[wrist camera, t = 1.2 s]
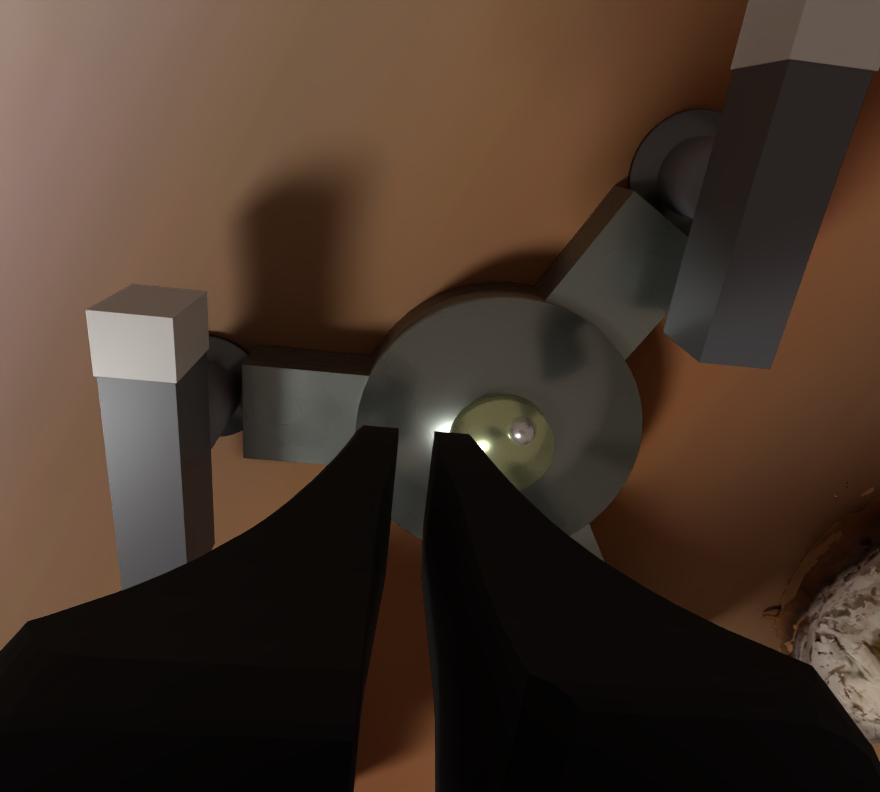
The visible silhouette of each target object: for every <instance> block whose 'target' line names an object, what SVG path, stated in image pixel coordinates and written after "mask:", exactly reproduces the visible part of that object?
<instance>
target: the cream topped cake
mask: <svg viewBox="0 0 880 792" xmlns="http://www.w3.org/2000/svg"><path fill="white" fill-rule="evenodd" d="M847 484H848V483H847ZM847 487H848V486H846V488H847ZM874 488H875V487H872V488H870V489H868V490H867V491H866V492H863V493H862V494H861V497H863V496H865V495H869V494H870V493H872V492H873V491H874ZM834 497H835V498H838V496H836V495H835V494H834ZM833 502H835V501H833ZM780 603H781V610H780V612H779V614H777V615H775V616H773V615H770V614H766V615H765V614H764V615H763V616H762V617H763V618H765V619H768V618H770V619H773V620H775V623H774V625H773V626H774V628H775V629H777V635H776V636H777V638H778V640H779V641H780V643H781V647H778V649H779V652H781V653H783V654H786V655H788V656H791V657H793V658H795V659H798V660H800V661H802V662H805V663H807V664H810V665H812V666H813V667H814V668H815V670H816V671H817V672H818V674H819V675H820V676H821V677H822V679H823V680H824V681H825V683H826V684H827V685H828V687H829V688H830V690H831V691H832V692H833V694H834V695H835V696H836V698H837V699H838V700H839V702H840V703H841V704H842V706H843V707H844V709H845V710H846V711H847V713H848V714H849V715H850V717H851V718H852V719H853V721H854V722H855V723H856V725H857V726H858V728H859V729H860V730H861V732H862V733H863V734H864V736H865V737H866V738H867V740H868V741H869V742H870V744H871V743H880V495H878V496H876V497H875V498H873V499H872V500H871V501H870V502H869V503H868V504H867V505H866V506H865V508H864V509H862V510H861V511H859V512H854V513H851V514H849V515H847V516H846V517H845V518H843V519H842V520H839V521H837V522H836V523H834V524H833V525H832V526H831V527H830V528H829V529H828V530H827V531H826V532H825V533H824V534H823V535H822V536H821V537H820V538H819V539H818V540H817V541H816V542H815V543H814V544H813V546H812V547H811V548H810V549H809V550H808V551H807V553H806V556H805V557H804V559H803V560H802V562H801V564H800V565H799V566H798V568H797V570H796V572H795V573H794V574H793V576H792V577H791V579H790V580H789V582H788V587H787V589H786V590H785V591H784V593H783V594H782V595H781V597H780ZM757 610H758V609H757ZM757 612H758V611H757Z"/></svg>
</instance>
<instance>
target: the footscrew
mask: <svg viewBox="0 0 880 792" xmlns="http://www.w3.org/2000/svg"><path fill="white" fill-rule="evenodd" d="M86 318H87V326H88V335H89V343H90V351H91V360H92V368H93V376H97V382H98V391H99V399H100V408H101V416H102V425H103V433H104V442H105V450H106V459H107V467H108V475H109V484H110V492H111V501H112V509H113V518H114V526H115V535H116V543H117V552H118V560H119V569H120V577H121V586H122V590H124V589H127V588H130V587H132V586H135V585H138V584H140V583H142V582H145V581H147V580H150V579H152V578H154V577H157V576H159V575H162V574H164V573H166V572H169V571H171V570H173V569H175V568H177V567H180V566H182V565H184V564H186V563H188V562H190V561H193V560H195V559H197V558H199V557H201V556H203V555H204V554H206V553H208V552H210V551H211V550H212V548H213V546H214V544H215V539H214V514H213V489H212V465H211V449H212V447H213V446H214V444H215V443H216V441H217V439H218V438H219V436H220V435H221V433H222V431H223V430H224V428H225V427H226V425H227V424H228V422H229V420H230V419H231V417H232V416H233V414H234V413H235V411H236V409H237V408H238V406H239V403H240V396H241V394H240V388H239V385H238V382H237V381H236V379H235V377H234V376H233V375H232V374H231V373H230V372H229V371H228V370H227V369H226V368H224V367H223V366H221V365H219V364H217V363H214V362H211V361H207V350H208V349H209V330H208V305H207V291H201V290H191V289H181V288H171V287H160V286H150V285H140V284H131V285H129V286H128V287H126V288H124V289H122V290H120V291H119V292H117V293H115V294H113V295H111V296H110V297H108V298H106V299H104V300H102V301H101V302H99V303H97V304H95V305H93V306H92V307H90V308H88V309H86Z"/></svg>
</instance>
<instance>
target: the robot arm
mask: <svg viewBox="0 0 880 792" xmlns="http://www.w3.org/2000/svg"><path fill="white" fill-rule="evenodd" d="M398 436H399V428H392V427H380V426H368V425H363V426H362V427H360V428H359V429H358V430H357V431H356V432H355V434H354V435H353V436H352V438H351V439H350V440H349V442H348V443H347V444H346V445H345V447H344V448H343V449H342V450H341V451H340V452H339V453H338V455H337V456H336V457H335V458H334V459H333V460H332V461H331V462H330V463H329V464H328V465H327V466H326V467H325V468H324V469H323V470H322V471H321V472H320V473H319V474H318V475H317V476H316V477H315V478H314V479H313V480H312V481H311V482H310V483H309V484H308V485H306V486H305V487H304V488H303V489H302V490H301V491H300V492H299V493H297V494H296V495H295V496H294V497H293V498H292V499H291V500H289V501H288V502H287V503H286V504H284V505H283V506H282V507H281V508H279V509H278V510H277V511H275V512H274V513H273V514H271V515H270V516H269V517H267V518H266V519H265V520H263V521H262V522H260V523H259V524H257V525H256V526H254V527H253V528H251V529H249V530H248V531H246V532H244V533H243V534H241V535H239V536H237V537H235V538H233V539H232V540H230V541H228V542H226V543H224V544H223V545H221V546H219V547H217V548H215V549H214V550H212V551H210V552H208V553H206V554H204V555H203V556H201V557H199V558H197V559H195V560H193V561H190V562H188V563H186V564H184V565H182V566H180V567H177V568H175V569H173V570H171V571H169V572H166V573H164V574H162V575H159V576H157V577H154V578H152V579H150V580H147V581H145V582H142V583H140V584H138V585H135V586H132V587H130V588H127V589H124V590H122V591H119V592H117V593H114V594H111V595H108V596H105V597H102V598H99V599H96V600H93V601H90V602H87V603H84V604H81V605H78V606H75V607H72V608H69V609H66V610H63V611H60V612H57V613H54V614H51V615H48V616H44V617H41V618H38V619H34V620H31V621H28V622H27V623H26V624H25V625H24V626H23V627H22V628H21V629H20V630H19V632H18V633H17V634H16V635H15V636H14V637H13V638H12V639H11V640H10V641H9V642H8V643H7V645H6V646H5V647H4V648H3V649H2V650H1V651H0V792H353V791H354V780H355V770H356V759H357V748H358V737H359V726H360V716H361V709H362V702H363V695H364V688H365V683H366V678H367V672H368V667H369V662H370V656H371V651H372V646H373V640H374V635H375V630H376V624H377V619H378V613H379V608H380V603H381V597H382V592H383V586H384V581H385V575H386V565H387V555H388V545H389V534H390V524H391V513H392V503H393V492H394V482H395V472H396V461H397V451H398ZM422 587H423V597H424V607H425V617H426V627H427V637H428V646H429V656H430V665H431V675H432V685H433V695H434V712H435V792H880V762H879V759H878V757H877V755H876V753H875V751H874V749H873V747H872V745H871V744H870V742H869V741H868V740H867V738H866V737H865V736H864V734H863V733H862V732H861V730H860V729H859V728H858V726H857V725H856V723H855V722H854V721H853V719H852V718H851V717H850V715H849V714H848V713H847V711H846V710H845V709H844V707H843V706H842V704H841V703H840V702H839V700H838V699H837V698H836V696H835V695H834V694H833V692H832V691H831V690H830V688H829V687H828V685H827V684H826V683H825V681H824V680H823V679H822V677H821V676H820V675H819V674H818V672H817V671H816V670H815V668H814V667H813V666H812V665H810V664H807V663H805V662H802V661H800V660H798V659H795V658H793V657H791V656H788V655H786V654H783V653H781V652H779V651H776V650H774V649H771V648H769V647H767V646H764V645H762V644H760V643H757V642H755V641H752V640H750V639H748V638H745V637H743V636H740V635H738V634H736V633H733V632H731V631H729V630H726V629H724V628H722V627H720V626H718V625H716V624H714V623H712V622H710V621H708V620H706V619H704V618H702V617H700V616H698V615H696V614H694V613H692V612H690V611H688V610H686V609H684V608H682V607H680V606H678V605H676V604H674V603H672V602H670V601H669V600H667V599H665V598H663V597H661V596H660V595H658V594H656V593H654V592H652V591H651V590H649V589H647V588H645V587H644V586H642V585H640V584H639V583H637V582H636V581H634V580H632V579H631V578H629V577H628V576H626V575H624V574H623V573H621V572H620V571H618V570H616V569H615V568H613V567H611V566H610V565H609V564H607V563H606V562H604V561H603V560H601V559H600V558H598V557H597V556H595V555H594V554H592V553H591V552H590V551H589V550H587V549H586V548H585V547H583V546H582V545H581V544H579V543H578V542H577V541H575V540H574V539H573V538H571V537H570V536H569V535H567V534H566V533H565V532H564V531H562V530H561V529H560V528H559V527H558V526H556V525H555V524H554V523H553V522H552V521H550V520H549V519H548V518H547V517H546V516H545V515H544V514H543V513H542V512H541V511H540V510H538V509H537V508H536V507H535V506H534V505H533V504H532V503H531V502H530V501H529V500H528V499H527V498H526V497H525V496H524V495H523V494H522V493H521V492H520V491H519V490H518V489H517V488H516V487H515V486H514V485H513V484H512V483H511V482H510V481H509V480H508V479H507V477H506V476H505V475H504V474H503V473H502V472H501V471H500V470H499V469H498V467H497V466H496V465H495V464H494V463H493V462H492V460H491V459H490V458H489V457H488V456H487V455H486V453H485V452H484V451H483V450H482V449H481V447H480V446H479V445H478V444H477V443H476V441H475V440H474V439H473V438H472V437H471V435H470V434H463V433H451V432H439V431H434V439H433V447H432V455H431V464H430V472H429V480H428V488H427V497H426V505H425V513H424V521H423V533H422Z"/></svg>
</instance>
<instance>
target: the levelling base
mask: <svg viewBox="0 0 880 792" xmlns="http://www.w3.org/2000/svg"><path fill="white" fill-rule="evenodd" d="M720 117H721V113H719V112H716V111H712V110H704V109H697V110H688V111H683V112H680V113H677V114H674V115H672V116H670V117H668V118H666V119H665V120H663V121H662V122H660V123H659V124H658V125H656V126H655V127H654V128H653V129H652V130H651V131H650V132H649V133H648V134H647V135H646V136H645V138H644V139H643V141H642V142H641V143H640V145H639V147H638V148H637V150H636V152H635V155H634V157H633V159H632V162H631V166H630V170H629V176H628V189H626V188H623V187H619V186H616V185H615V186H614V187H613V188H612V190H611V191H610V192H609V193H608V195H607V196H606V197H605V198H604V200H603V201H602V202H601V203H600V205H599V206H598V207H597V208H596V210H595V211H594V212H593V213H592V215H591V216H590V217H589V218H588V220H587V221H586V222H585V223H584V225H583V226H582V227H581V228H580V230H579V231H578V232H577V233H576V235H575V236H574V237H573V238H572V240H571V241H570V242H569V243H568V245H567V246H566V247H565V248H564V250H563V251H562V252H561V253H560V255H559V256H558V257H557V258H556V260H555V261H554V262H553V263H552V265H551V266H550V267H549V268H548V270H547V271H546V272H545V273H544V275H543V276H542V277H541V278H540V280H539V281H538V282H537V283H536V285H535V286H534V287H533V286H530V285H524V284H518V283H513V282H485V283H475V284H470V285H466V286H461V287H457V288H454V289H451V290H449V291H446V292H443V293H440V294H438V295H436V296H434V297H432V298H430V299H429V300H427V301H425V302H423V303H421V304H420V305H419V306H417V307H416V308H414V309H413V310H411V311H410V312H408V313H407V314H406V315H405V316H404V317H403V318H402V319H401V320H400V321H399V322H397V323H396V324H395V325H394V327H393V328H392V329H391V330H390V331H389V332H388V334H387V335H386V336H385V337H384V339H383V340H382V342H381V343H380V345H379V346H378V348H377V350H376V351H375V353H374V355H373V356H369V355H359V354H348V353H337V352H326V351H315V350H305V349H294V348H283V347H272V346H262V345H256V346H255V347H254V349H253V350H252V352H251V353H250V354H249V353H248V352H247V351H246V350H244V349H243V348H242V347H240V346H239V345H238V344H236V343H234V342H232V341H230V340H228V339H225V338H222V337H219V336H214V335H209V349H208V350H207V361H211V362H214V363H217V364H219V365H221V366H223V367H224V368H226V369H227V370H228V371H229V372H230V373H231V374H232V375H233V376H234V377H235V379H236V381H237V382H238V385H239V388H240V394H241V396H240V403H239V406H238V408H237V409H236V411H235V413H234V414H233V416H232V417H231V419H230V420H229V422H228V424H227V425H226V427H225V428H224V430H223V431H222V433H221V435H220V436H227V435H232V434H235V433H238V432H240V431H242V430H243V454H244V458H250V459H263V460H276V461H289V462H301V463H314V464H327V465H328V464H329V463H330V462H331V461H332V460H333V459H334V458H335V457H336V456H337V455H338V453H339V452H340V451H341V450H342V449H343V448H344V447H345V445H346V444H347V443H348V442H349V440H350V439H351V438H352V436H353V435H354V434H355V432H356V431H357V430H358V429H359V428H360V427H362V426H363V425H368V426H380V427H392V428H399V436H398V451H397V461H396V472H395V482H394V492H393V503H392V513H391V519H392V520H393V521H395V522H396V523H397V524H398V525H399V526H400V527H401V528H403V529H404V530H406V531H407V532H409V533H410V534H412V535H413V536H415V537H416V538H418V539H420V540H422V533H423V521H424V513H425V505H426V497H427V488H428V480H429V472H430V464H431V455H432V447H433V439H434V431H439V432H451V433H463V434H470V435H471V437H472V438H473V439H474V440H475V441H476V443H477V444H478V445H479V446H480V447H481V449H482V450H483V451H484V452H485V453H486V455H487V456H488V457H489V458H490V459H491V460H492V462H493V463H494V464H495V465H496V466H497V467H498V469H499V470H500V471H501V472H502V473H503V474H504V475H505V476H506V477H507V479H508V480H509V481H510V482H511V483H512V484H513V485H514V486H515V487H516V488H517V489H518V490H519V491H520V492H521V493H522V494H523V495H524V496H525V497H526V498H527V499H528V500H529V501H530V502H531V503H532V504H533V505H534V506H535V507H536V508H537V509H538V510H540V511H541V512H542V513H543V514H544V515H545V516H546V517H547V518H548V519H549V520H550V521H552V522H553V523H554V524H555V525H556V526H558V527H559V528H560V529H561V530H562V531H564V532H565V533H566V534H567V535H569V536H570V537H571V538H573V539H574V540H575V541H577V542H578V543H579V544H581V545H582V546H583V547H585V548H586V549H587V550H589V551H590V552H591V553H592V554H594V555H595V556H597V557H598V558H600V559H601V560H603V561H604V559H603V557H602V554H601V552H600V549H599V547H598V544H597V542H596V540H595V537H594V535H593V532H592V530H591V527H590V525H589V523H590V522H592V521H593V520H594V519H595V518H596V517H597V516H598V515H599V514H600V513H602V512H603V511H604V510H605V509H606V508H607V506H608V505H609V504H610V503H611V502H612V501H613V500H614V498H615V497H616V496H617V494H618V493H619V491H620V490H621V489H622V487H623V486H624V484H625V483H626V481H627V479H628V477H629V475H630V473H631V471H632V469H633V466H634V463H635V460H636V458H637V455H638V452H639V447H640V442H641V437H642V422H643V416H642V406H641V399H640V395H639V391H638V387H637V384H636V382H635V379H634V377H633V374H632V372H631V370H630V368H629V366H628V365H627V363H626V361H625V360H626V359H627V358H628V357H629V356H630V354H631V353H632V352H633V351H634V350H635V349H636V348H637V347H638V345H639V344H640V343H641V342H642V341H643V340H644V339H645V338H646V337H647V335H648V334H649V333H650V332H651V331H652V330H653V329H654V328H655V327H656V325H657V324H658V323H659V322H660V321H661V320H662V319H663V318H664V316H665V315H666V314H667V313H668V312H669V308H670V304H671V300H672V297H673V293H674V289H675V285H676V282H677V278H678V274H679V270H680V267H681V263H682V259H683V255H684V252H685V248H686V244H687V241H688V237H689V233H690V229H691V226H692V222H693V219H691V218H688V217H685V216H682V215H679V214H676V213H674V212H672V211H671V210H669V209H668V208H667V207H666V206H665V205H664V203H663V202H662V200H661V198H660V195H659V192H658V186H657V180H658V173H659V170H660V167H661V164H662V162H663V160H664V159H665V157H666V156H667V154H668V153H669V152H670V151H671V150H672V149H673V148H674V147H675V146H676V145H677V144H679V143H680V142H682V141H684V140H686V139H689V138H692V137H697V136H711V137H715V136H716V132H717V128H718V125H719V121H720ZM220 436H219V437H220Z"/></svg>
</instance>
